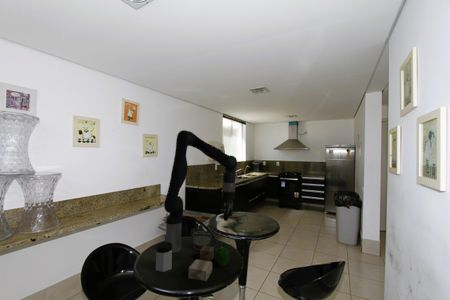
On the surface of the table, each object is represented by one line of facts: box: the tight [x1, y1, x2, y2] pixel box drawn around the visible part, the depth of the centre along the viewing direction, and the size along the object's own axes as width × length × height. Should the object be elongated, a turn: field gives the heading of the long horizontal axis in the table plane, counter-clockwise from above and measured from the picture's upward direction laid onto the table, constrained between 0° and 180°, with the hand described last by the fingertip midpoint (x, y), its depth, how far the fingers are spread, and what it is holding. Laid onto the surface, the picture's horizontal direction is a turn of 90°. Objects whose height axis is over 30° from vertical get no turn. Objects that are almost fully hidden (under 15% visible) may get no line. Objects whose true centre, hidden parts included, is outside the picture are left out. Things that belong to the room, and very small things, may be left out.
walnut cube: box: [199, 245, 215, 262], centre depth 123 cm, size 6×6×6 cm
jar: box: [155, 241, 173, 273], centre depth 113 cm, size 9×8×12 cm
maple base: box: [188, 259, 213, 282], centre depth 107 cm, size 9×9×5 cm
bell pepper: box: [214, 246, 231, 267], centre depth 117 cm, size 8×8×10 cm
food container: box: [192, 230, 212, 251], centre depth 138 cm, size 12×6×10 cm, turn 84°
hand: (227, 218), depth 123 cm, fingers open, 8 cm apart
